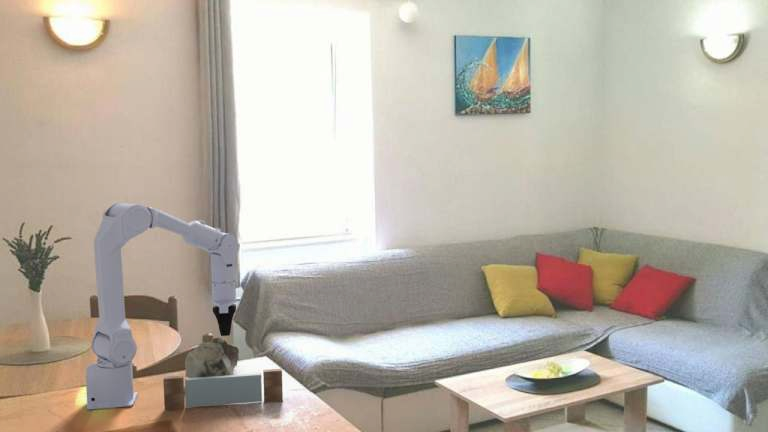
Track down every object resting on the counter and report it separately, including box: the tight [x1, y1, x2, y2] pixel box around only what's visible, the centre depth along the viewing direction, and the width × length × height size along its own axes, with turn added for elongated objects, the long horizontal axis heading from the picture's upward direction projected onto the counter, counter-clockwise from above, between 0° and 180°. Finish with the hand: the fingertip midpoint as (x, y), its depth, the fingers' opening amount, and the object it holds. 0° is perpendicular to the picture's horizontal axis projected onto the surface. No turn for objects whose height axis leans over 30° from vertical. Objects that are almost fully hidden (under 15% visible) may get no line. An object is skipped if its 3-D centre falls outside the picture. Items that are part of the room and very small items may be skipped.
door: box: [184, 372, 263, 408], centre depth 156 cm, size 16×1×6 cm, turn 101°
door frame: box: [162, 368, 284, 412], centre depth 156 cm, size 25×2×7 cm, turn 101°
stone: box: [184, 337, 240, 378], centre depth 172 cm, size 11×14×10 cm
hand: (225, 335), depth 178 cm, fingers closed
